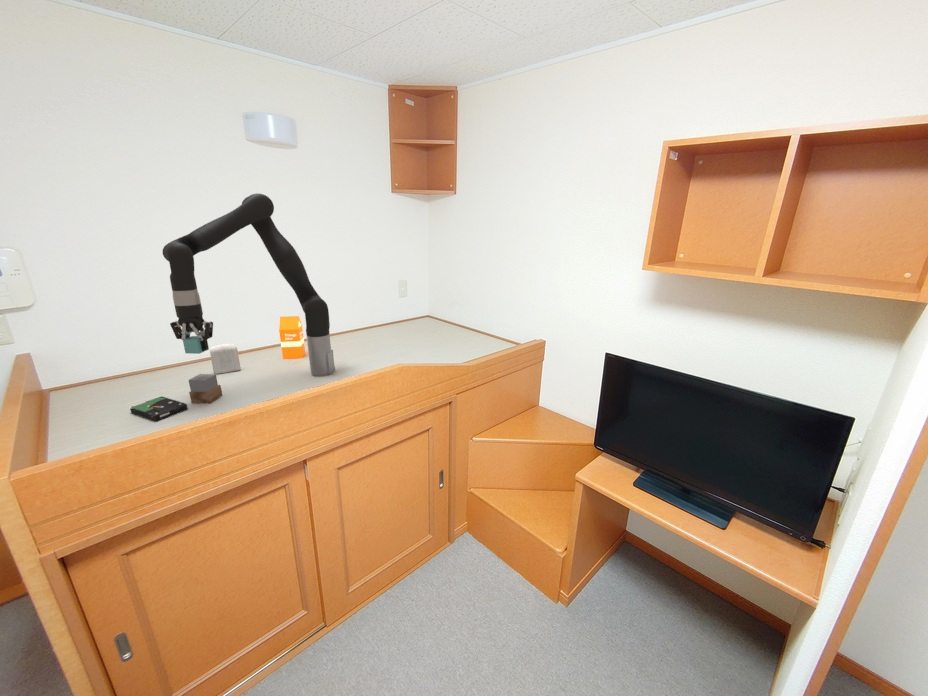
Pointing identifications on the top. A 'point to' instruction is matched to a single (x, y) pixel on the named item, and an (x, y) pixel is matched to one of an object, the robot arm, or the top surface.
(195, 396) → the walnut base
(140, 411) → the disk drive
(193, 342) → the teal block
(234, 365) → the photo printer
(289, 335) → the orange juice
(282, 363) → the top surface
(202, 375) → the slate block
